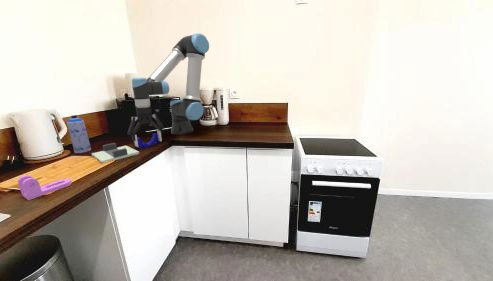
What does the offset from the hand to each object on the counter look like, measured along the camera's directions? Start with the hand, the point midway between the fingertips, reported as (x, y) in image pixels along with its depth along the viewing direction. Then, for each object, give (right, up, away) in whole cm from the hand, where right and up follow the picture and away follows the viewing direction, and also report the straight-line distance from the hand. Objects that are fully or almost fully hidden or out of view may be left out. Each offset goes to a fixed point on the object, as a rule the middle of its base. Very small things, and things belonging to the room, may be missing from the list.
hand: (148, 143), depth 126 cm
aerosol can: (-36, -4, -4) cm, 36 cm away
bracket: (-14, -16, -48) cm, 52 cm away
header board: (-11, -6, -13) cm, 18 cm away
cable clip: (-1, -2, +1) cm, 2 cm away
